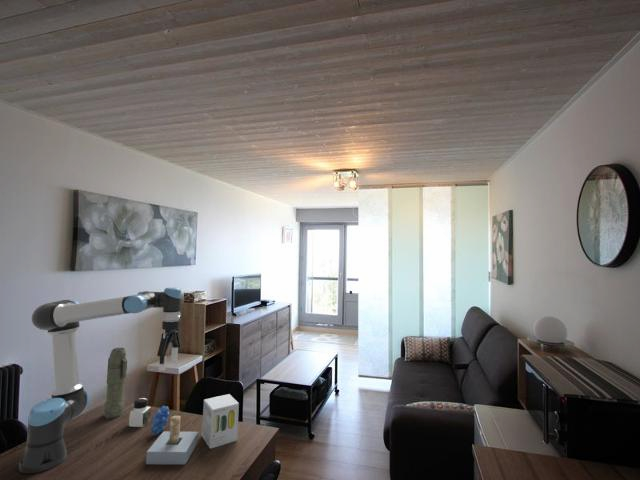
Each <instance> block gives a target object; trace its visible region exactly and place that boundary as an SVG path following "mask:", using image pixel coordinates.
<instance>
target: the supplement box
mask: <svg viewBox="0 0 640 480" xmlns="http://www.w3.org/2000/svg"><path fill="white" fill-rule="evenodd" d="M239 406H240V403H239V402H238V401H237V400H236V399H235V398H234V397H233V396H232V395H231V394H230V393H228V394H223V395H219V396H214V397H210V398H205V399H203V408H202V409H203V410H202V411H203V412H202V426H201V437H202V438H203V440H204V441H205V443H206V445H207V446H208V448H209V449H210V450H211V449H214V448H217V447H221V446H224V445H226V444H230V443H234V442H236V441H238V431H239V412H240V411H239V408H240V407H239Z"/></svg>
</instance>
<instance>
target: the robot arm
mask: <svg viewBox="0 0 640 480" xmlns="http://www.w3.org/2000/svg"><path fill="white" fill-rule="evenodd" d="M181 304H182V289H181V288H180V287H165V288H164V291H148V290H147V291H144V290H143V291H138V292H137V294H133V295H127V296H122V297H121V296H120V297H115V298H105V299H101V300H100V299H99V300H94V301H87V302H82V303H80V302H79V301H77V300H74V299H62V300H57V301H54V302H48V303H43V304H41V305H40V306H38V307H37V308H35V310H34V311H33V312H32V315H31V322H32V325H34V327H35V328H37V329H39V330H43V331H47V334H49V335H51V336H52V337H51V338H52V355H53V371H54V387H55V388H54V390H52V392H51V395H50V396H51V398H48V399H46V400H42V401H40V402H38V403H37V404H35V405H33V406H32V408H31V409H30V411H29V414H28V415H29V416H28V418H27V422H28V425H27V435H26V436H27V437H26V447H25V449H24V451H23V452H22V453H23V454H22V455H21V457H20V460H19V463H18V471H19V472H20V473H22V474H36V473H37V474H38V473H40V472H45V471H47V470H50V469H53V468H54V467H56V466H58V465H59V464H61V463H63V461H65V459H66V458H67V456H68V449H67V447H66V443H65V440H64V430H65V425H66V424H69V422H71V421H72V420H73V419H75V418H76V417H78V416H79V415H80V414H82V412H83V411H84V410H86V408H87V407H88V405H89V402H90V394H89V392H88V390H86V388H84V385H83V384H82V383H81V382H80V377H79V363H78V346H77V331H78V330H79V328H80V322H84V321H90V320H96V319H103V318H109V317H114V316H121V315H127V314H128V315H129V314H140V313H142V312H144V311H146V310H149V309H152V308H155V309H156V308H159V309H160V308H162V319H161V320H162V323H161V329H162V330H164V333H161V337H160V343H159V346H158V350H157V356H156V357H159V363H158V371H159V372H165V371H166V367H167V352H168V348H169V346H170V344H171V345H172V347H171V356H170V358H171V359H170V361H171V362H178V355H179V354H178V351H179V348H180V347H181V338H180V334H179V328H180V323H181V322H180V319H181V318H180V317H181V315H182V314H181Z"/></svg>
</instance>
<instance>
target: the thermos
mask: <svg viewBox="0 0 640 480" xmlns="http://www.w3.org/2000/svg"><path fill="white" fill-rule="evenodd" d="M127 368H128V359H127V352H126V348H124V347H115V348H113V349H112V350H111V351H110V354H109V357H108V359H107V373H106V384H107V386H106V387H107V388H106V398H105V399H106V400H105V402H104V409H103V411H104V416H103V417H104V418H105V419H108V420H109V419H117V418H119V417H122V415H124V408H125V399H124V398H125V397H124V395H125V393H124V392H125V383H126V382H125V381H126V378H127V370H128V369H127Z"/></svg>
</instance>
